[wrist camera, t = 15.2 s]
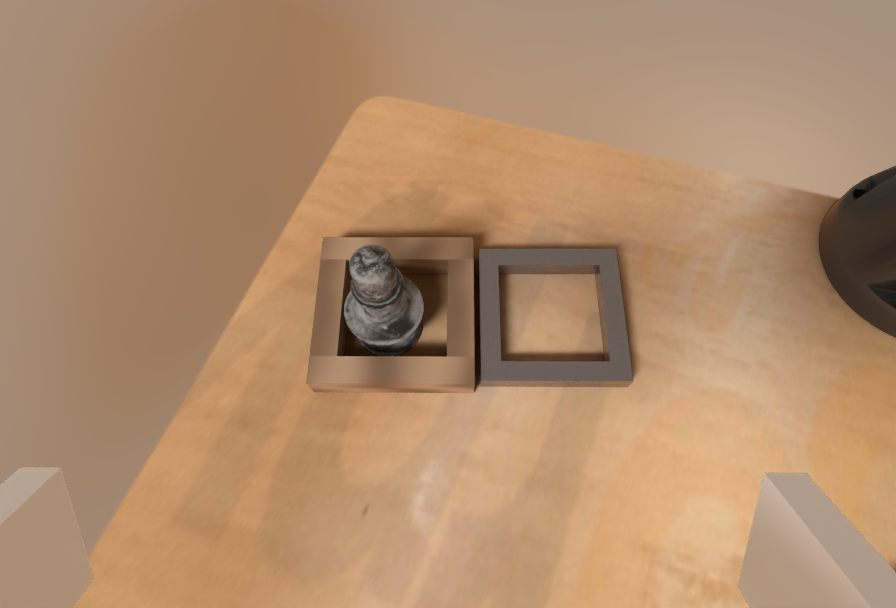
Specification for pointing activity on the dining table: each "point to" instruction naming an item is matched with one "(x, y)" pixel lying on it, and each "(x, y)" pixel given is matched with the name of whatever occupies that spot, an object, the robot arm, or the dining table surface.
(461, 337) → the walnut holder block
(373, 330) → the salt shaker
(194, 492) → the dining table surface
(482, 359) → the metal collar
